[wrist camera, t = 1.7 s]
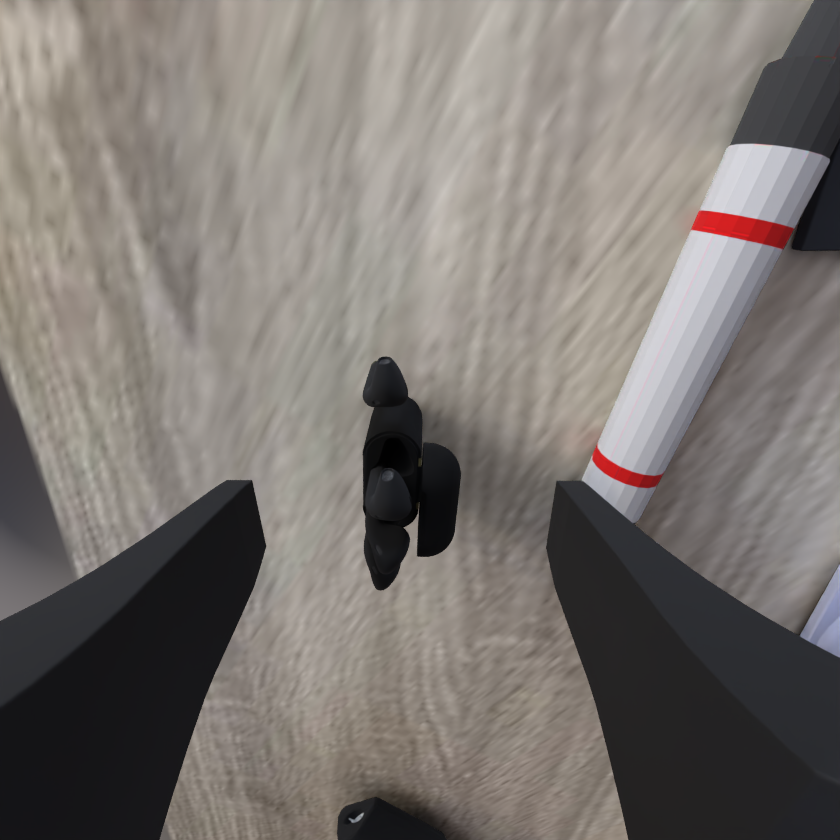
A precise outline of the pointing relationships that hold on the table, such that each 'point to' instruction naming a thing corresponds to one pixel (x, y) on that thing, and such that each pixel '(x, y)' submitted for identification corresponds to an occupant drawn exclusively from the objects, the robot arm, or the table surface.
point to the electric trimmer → (382, 823)
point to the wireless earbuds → (403, 478)
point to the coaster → (822, 212)
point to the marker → (725, 260)
